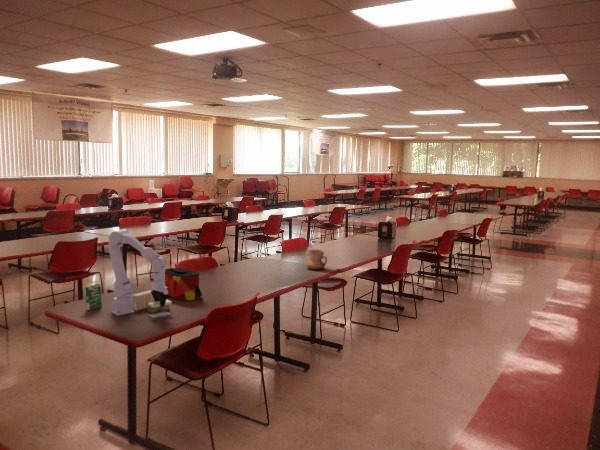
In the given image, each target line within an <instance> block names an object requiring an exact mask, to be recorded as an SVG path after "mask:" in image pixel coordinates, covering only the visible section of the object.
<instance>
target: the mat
mask: <svg viewBox="0 0 600 450" xmlns="http://www.w3.org/2000/svg"><path fill="white" fill-rule="evenodd" d="M147 315H148V317H150V318H152V319H159V318H163V317H168V316H172V315H173V314H172V313H171V312H169V311H168V310H167V311H162V312H158V313H153V314H152V313H149V314H147Z"/></svg>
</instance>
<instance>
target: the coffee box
mask: <svg viewBox="0 0 600 450" xmlns="http://www.w3.org/2000/svg"><path fill="white" fill-rule="evenodd" d="M101 285H102V284H100V283H95V284H93V285H88V286H86V287H85V286H84V287H85V288H84V290H85V303H86V304H85V305H86V311H88V310H89V312H91V311H94V310H97V309H100V308H102V306H103V304H102V302H103V301H102V289H101V287H102V286H101ZM93 309H94V310H93ZM90 310H91V311H90Z"/></svg>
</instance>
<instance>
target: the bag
mask: <svg viewBox="0 0 600 450" xmlns="http://www.w3.org/2000/svg"><path fill="white" fill-rule="evenodd" d="M165 286H166V287H167V288H166V289H167V290H168V293H169V295H168V297H167V298H168V299H172V298H173V299H172V300H176V299H177V300H176V301H180V302H194V301H197V299H198V300H199V299H200V298H201V297H203V294H202V291H201V289H200V272H199V271H195V270H189V269H183V268H180V267H179V268H177V267H171V268H165Z"/></svg>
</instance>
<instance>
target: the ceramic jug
mask: <svg viewBox="0 0 600 450" xmlns="http://www.w3.org/2000/svg"><path fill="white" fill-rule="evenodd" d="M324 252H325V251H324V250H321V249H309V250H307V253H306V254H305V255H306V256H308V257H309V259H310V260H309V261H307V262H306V264H305V265H306V268H308V269H309V270H314V271H318V270H320V271H321V270H322V269H323V270H324V269H325V267H326V265H327V262H328V258H327V256H326V255H324ZM322 259H324V262H323V260H322Z"/></svg>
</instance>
